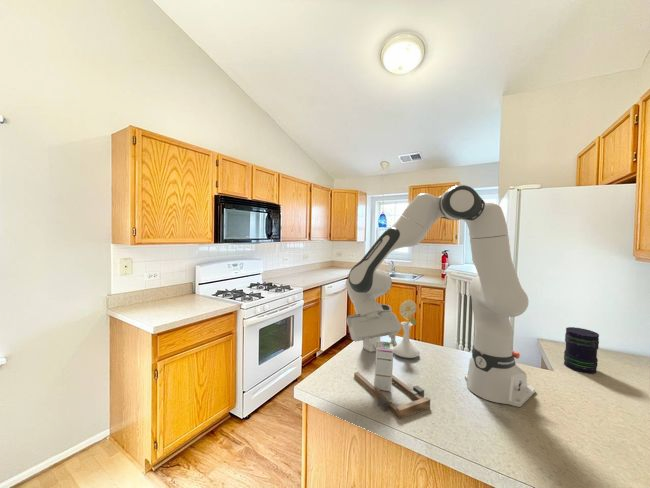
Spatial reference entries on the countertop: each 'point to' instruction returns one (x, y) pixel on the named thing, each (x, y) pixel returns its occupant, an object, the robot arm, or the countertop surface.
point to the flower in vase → (407, 331)
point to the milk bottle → (372, 341)
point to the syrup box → (383, 366)
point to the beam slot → (387, 404)
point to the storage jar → (581, 350)
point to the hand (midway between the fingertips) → (384, 348)
